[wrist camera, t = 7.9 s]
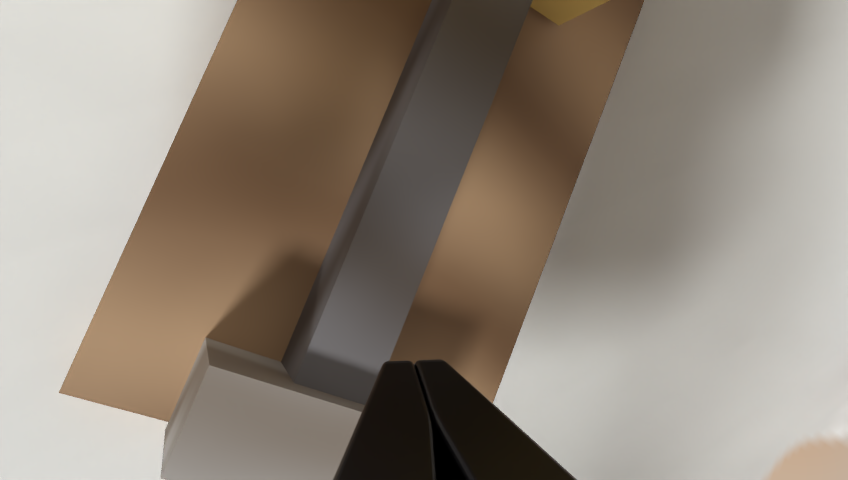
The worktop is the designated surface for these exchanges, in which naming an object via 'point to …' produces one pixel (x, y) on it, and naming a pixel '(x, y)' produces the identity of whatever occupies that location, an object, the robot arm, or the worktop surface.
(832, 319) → the worktop surface
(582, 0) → the yellow rectangular block
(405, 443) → the robot arm
